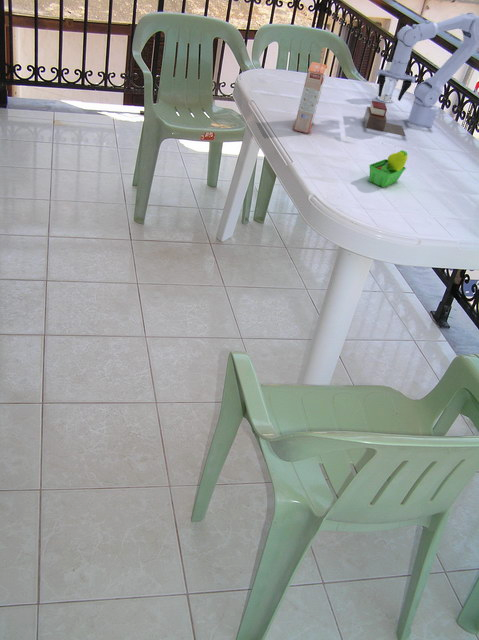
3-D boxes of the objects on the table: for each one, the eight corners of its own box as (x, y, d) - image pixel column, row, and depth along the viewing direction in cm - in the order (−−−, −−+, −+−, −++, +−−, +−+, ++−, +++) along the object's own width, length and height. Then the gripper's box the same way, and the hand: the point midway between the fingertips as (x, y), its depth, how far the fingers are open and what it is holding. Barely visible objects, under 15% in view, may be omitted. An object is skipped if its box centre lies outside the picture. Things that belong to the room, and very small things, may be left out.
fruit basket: (381, 173, 218) (391, 139, 211) (405, 184, 214) (417, 149, 207) (363, 180, 210) (374, 145, 203) (388, 191, 206) (400, 156, 199)
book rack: (400, 129, 261) (405, 114, 258) (404, 140, 251) (409, 124, 248) (362, 121, 261) (367, 106, 257) (364, 131, 251) (369, 115, 247)
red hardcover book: (382, 111, 256) (384, 103, 254) (384, 117, 249) (387, 109, 247) (369, 108, 256) (371, 100, 254) (371, 114, 249) (373, 106, 247)
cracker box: (309, 134, 236) (324, 73, 225) (292, 130, 237) (306, 69, 225) (313, 123, 248) (328, 64, 236) (297, 119, 248) (311, 60, 237)
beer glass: (373, 97, 293) (383, 61, 285) (385, 97, 296) (396, 62, 288) (382, 102, 288) (393, 66, 280) (395, 103, 292) (406, 67, 283)
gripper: (382, 59, 249) (371, 96, 256) (420, 68, 249) (409, 104, 257) (380, 55, 254) (370, 91, 262) (418, 63, 255) (406, 99, 262)
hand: (389, 97), depth 260 cm, fingers open, 7 cm apart
